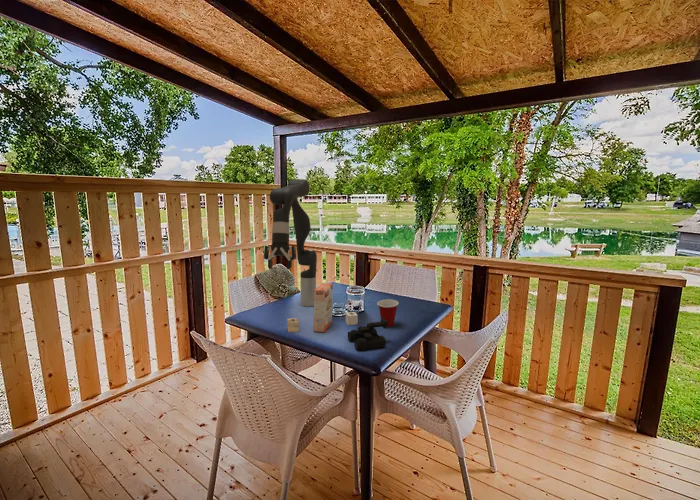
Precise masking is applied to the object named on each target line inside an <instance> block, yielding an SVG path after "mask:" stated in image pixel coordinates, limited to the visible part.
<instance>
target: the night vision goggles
mask: <svg viewBox="0 0 700 500" xmlns="http://www.w3.org/2000/svg"><path fill="white" fill-rule="evenodd" d="M387 325H388V321H387V320H385V319H384V318H382V319H381V318H380V321H376V322H375V321H374V322H369V323H367V324H366V326H361V325H360V326H359V327H357V329H351V330H350V331H348V332H347V340H348V341H349V342H350V341H351V342H353V343H354V345H353V346H354V349H355V350H356V351H357V350H359V351H366V350H367V349H368V350H369V349H370V350H371V349H378V348H384V347H385V346H386V343H387V341H386V338H385V336H383V335H379V334H378V331H377V328H383V329H385V330H386V329H388V327H387Z"/></svg>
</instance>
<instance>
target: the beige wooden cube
mask: <svg viewBox="0 0 700 500" xmlns="http://www.w3.org/2000/svg"><path fill="white" fill-rule="evenodd" d="M358 316H359V315H358V314H357V312H356V311H349V312H348V311H347V312H345V323H346V324H347V326H354V325H356V326H357V325H358V321H359V319H358Z"/></svg>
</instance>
